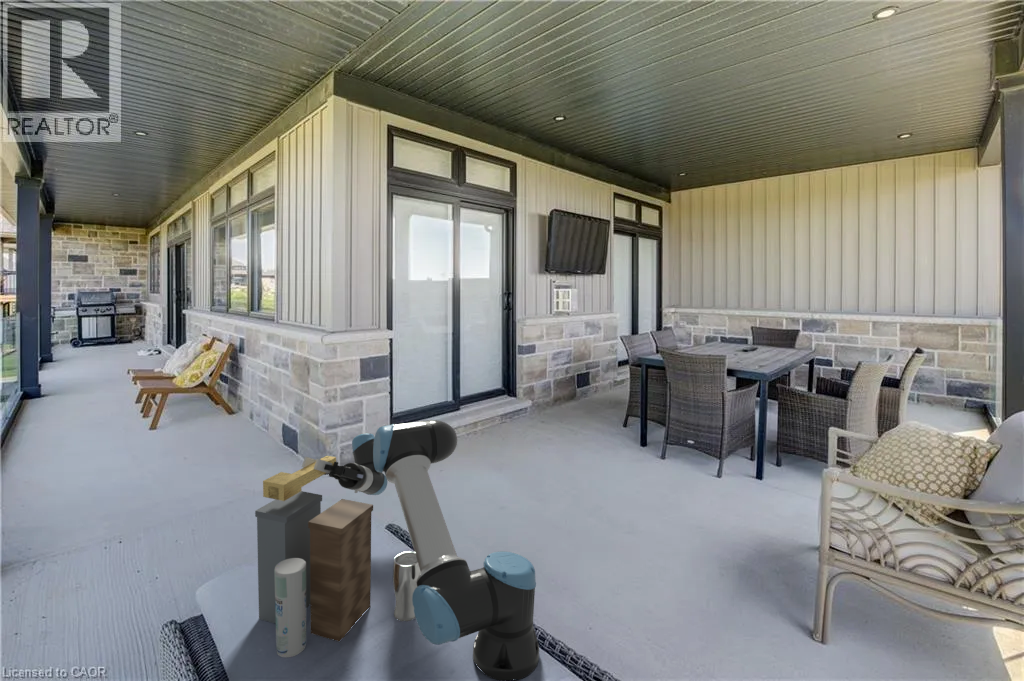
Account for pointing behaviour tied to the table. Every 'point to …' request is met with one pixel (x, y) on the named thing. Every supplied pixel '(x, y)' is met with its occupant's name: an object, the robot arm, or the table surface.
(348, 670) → the table surface
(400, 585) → the beer glass
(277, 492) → the pin
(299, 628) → the spray can
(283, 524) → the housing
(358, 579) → the block
